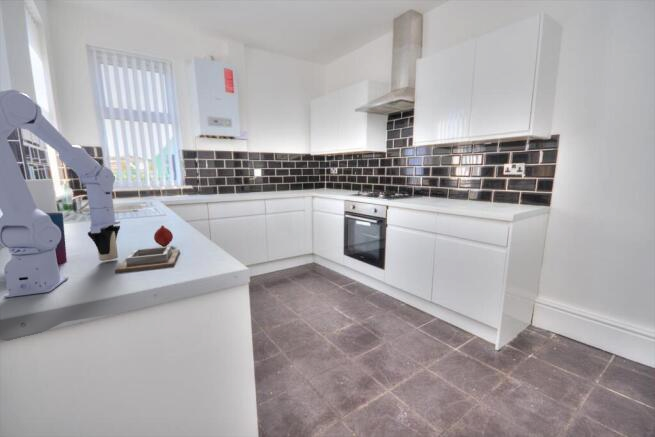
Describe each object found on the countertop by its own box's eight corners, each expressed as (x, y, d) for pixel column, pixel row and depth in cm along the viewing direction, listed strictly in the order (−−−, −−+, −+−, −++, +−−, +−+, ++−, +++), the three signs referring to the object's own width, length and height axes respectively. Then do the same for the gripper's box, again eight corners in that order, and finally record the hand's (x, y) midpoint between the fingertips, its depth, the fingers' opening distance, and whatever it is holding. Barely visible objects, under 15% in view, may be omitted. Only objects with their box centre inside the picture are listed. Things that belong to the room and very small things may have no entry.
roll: (115, 259, 87) (111, 233, 85) (96, 261, 85) (92, 234, 84) (120, 255, 91) (116, 230, 90) (102, 257, 89) (98, 231, 88)
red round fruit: (151, 247, 103) (149, 226, 102) (167, 244, 109) (164, 223, 107) (161, 249, 101) (159, 227, 100) (177, 245, 106) (174, 224, 105)
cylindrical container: (46, 260, 90) (31, 179, 86) (28, 259, 91) (13, 180, 87) (70, 254, 97) (58, 179, 93) (54, 253, 98) (40, 179, 94)
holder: (173, 266, 83) (172, 256, 82) (115, 273, 78) (113, 262, 77) (179, 252, 98) (178, 243, 97) (131, 256, 93) (130, 247, 92)
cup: (76, 259, 90) (68, 212, 88) (54, 266, 84) (45, 215, 81) (57, 259, 91) (48, 212, 89) (33, 266, 84) (23, 215, 82)
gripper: (109, 209, 80) (116, 256, 82) (124, 204, 93) (129, 245, 96) (78, 211, 78) (85, 259, 80) (98, 205, 91) (104, 247, 93)
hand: (107, 251), depth 88 cm, fingers closed on roll, 5 cm apart
